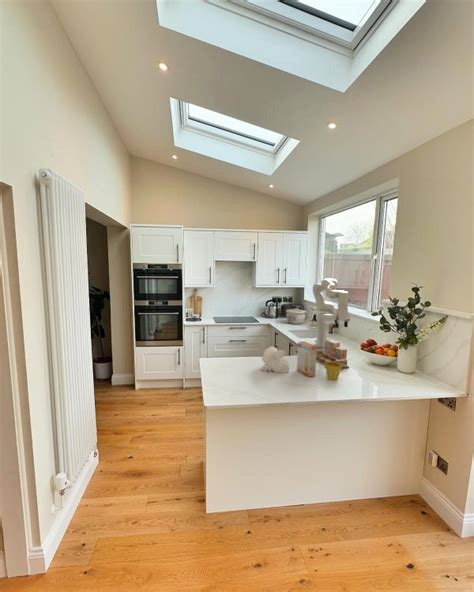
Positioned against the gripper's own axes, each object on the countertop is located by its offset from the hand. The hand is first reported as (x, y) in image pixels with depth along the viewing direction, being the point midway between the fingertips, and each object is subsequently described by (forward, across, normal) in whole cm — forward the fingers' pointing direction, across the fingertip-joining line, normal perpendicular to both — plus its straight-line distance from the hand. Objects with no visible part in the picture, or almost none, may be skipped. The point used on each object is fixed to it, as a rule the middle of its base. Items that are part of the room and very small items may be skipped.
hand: (341, 327), depth 239 cm
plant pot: (+25, +39, +34) cm, 58 cm away
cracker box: (+25, +50, +20) cm, 59 cm away
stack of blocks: (+26, +2, -3) cm, 26 cm away
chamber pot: (+27, -58, -138) cm, 152 cm away
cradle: (+25, +18, +8) cm, 32 cm away
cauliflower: (+25, +68, +6) cm, 72 cm away
